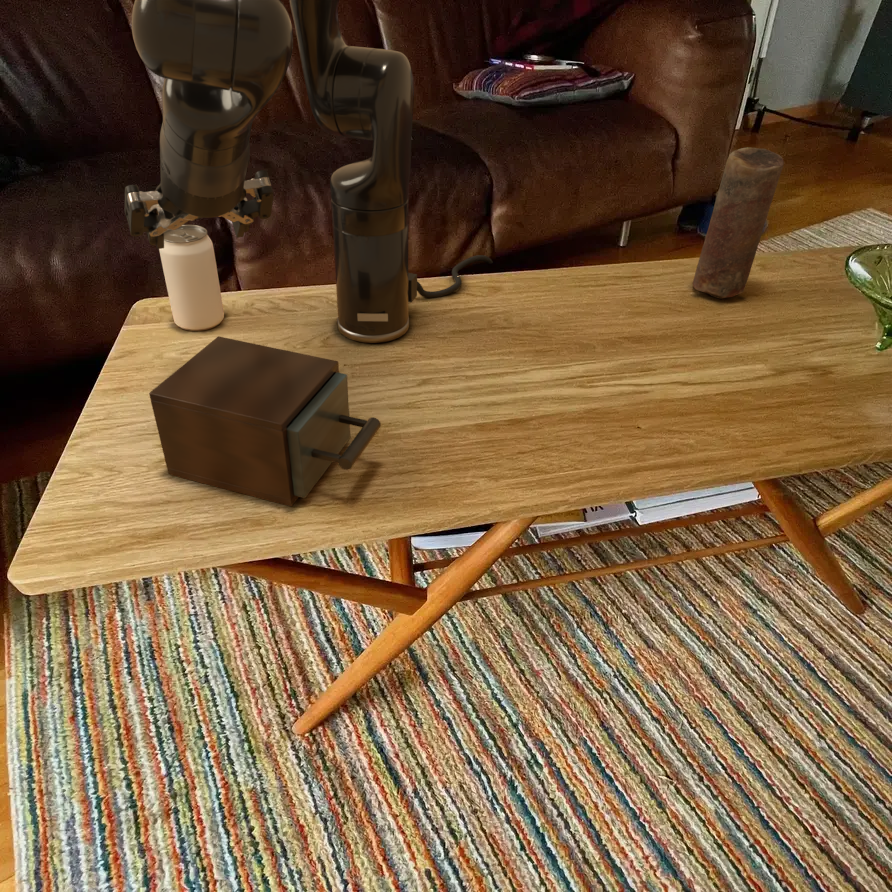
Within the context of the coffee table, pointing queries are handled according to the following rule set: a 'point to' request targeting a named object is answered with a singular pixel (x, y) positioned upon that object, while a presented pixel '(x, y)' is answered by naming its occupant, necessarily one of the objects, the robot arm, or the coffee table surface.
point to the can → (192, 278)
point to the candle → (737, 221)
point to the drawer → (325, 435)
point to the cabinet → (237, 415)
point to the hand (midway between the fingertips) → (198, 235)
